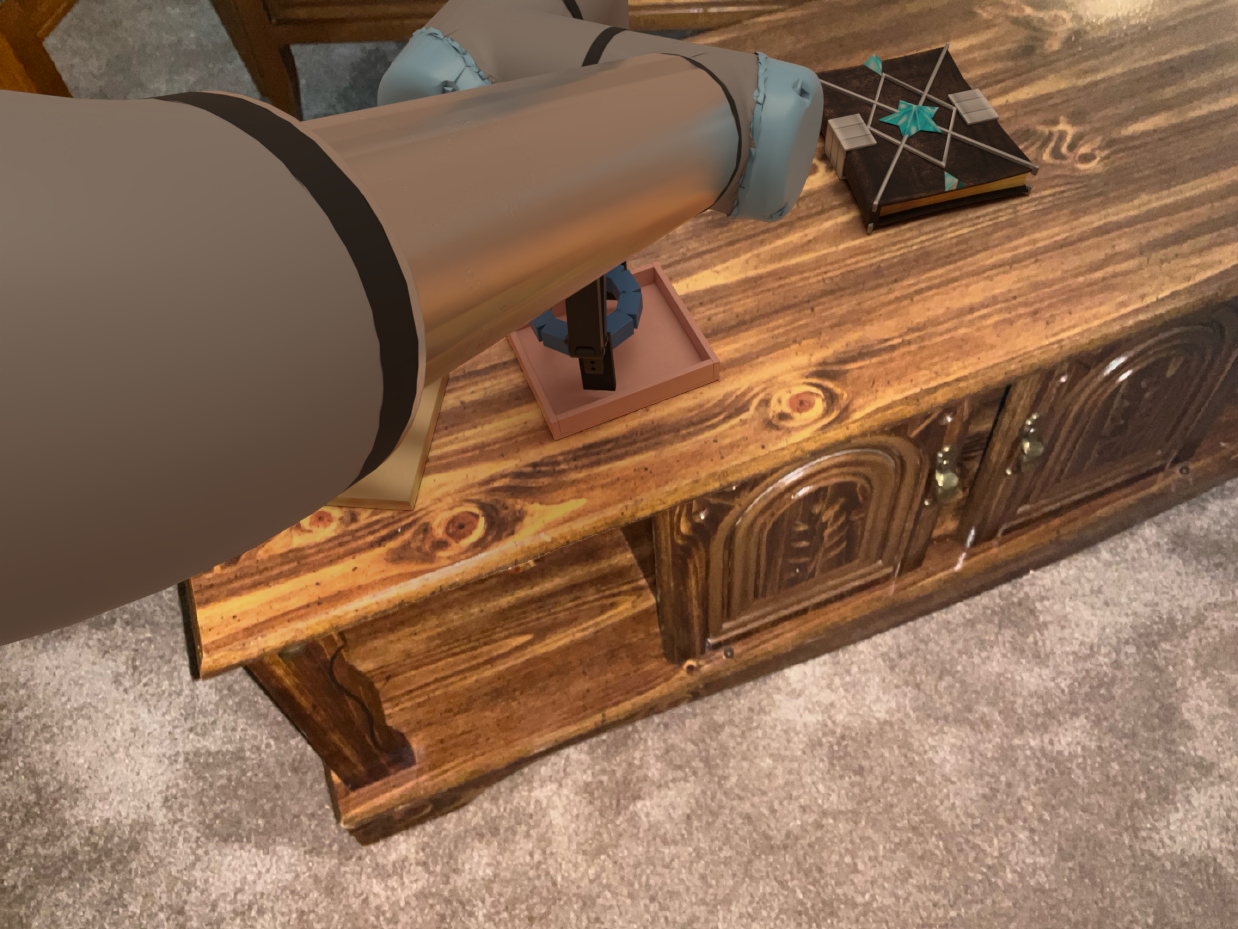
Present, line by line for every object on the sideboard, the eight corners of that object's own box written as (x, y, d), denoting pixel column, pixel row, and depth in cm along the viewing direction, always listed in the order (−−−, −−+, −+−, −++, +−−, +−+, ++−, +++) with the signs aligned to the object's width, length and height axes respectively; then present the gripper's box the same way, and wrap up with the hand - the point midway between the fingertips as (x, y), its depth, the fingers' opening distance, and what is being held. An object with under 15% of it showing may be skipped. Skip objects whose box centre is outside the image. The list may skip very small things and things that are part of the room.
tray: (555, 440, 80) (551, 423, 78) (505, 333, 87) (500, 314, 85) (719, 379, 83) (720, 360, 81) (658, 279, 90) (657, 260, 88)
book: (791, 101, 103) (795, 58, 99) (940, 69, 104) (950, 26, 100) (866, 235, 91) (874, 194, 87) (1033, 198, 92) (1049, 156, 88)
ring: (607, 371, 77) (605, 356, 75) (507, 331, 80) (503, 316, 78) (662, 294, 81) (662, 278, 80) (565, 259, 84) (563, 243, 83)
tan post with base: (413, 510, 77) (280, 235, 53) (249, 501, 79) (47, 229, 55) (449, 375, 85) (347, 80, 61) (299, 369, 87) (141, 79, 62)
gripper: (617, 236, 58) (637, 447, 77) (651, 24, 70) (661, 251, 89) (496, 233, 59) (544, 442, 77) (550, 24, 71) (581, 248, 90)
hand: (607, 340), depth 83 cm, fingers closed on ring, 9 cm apart
